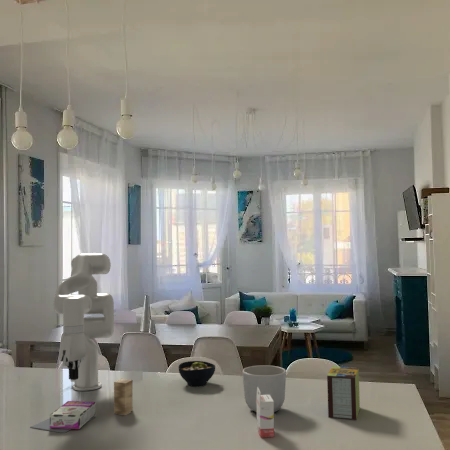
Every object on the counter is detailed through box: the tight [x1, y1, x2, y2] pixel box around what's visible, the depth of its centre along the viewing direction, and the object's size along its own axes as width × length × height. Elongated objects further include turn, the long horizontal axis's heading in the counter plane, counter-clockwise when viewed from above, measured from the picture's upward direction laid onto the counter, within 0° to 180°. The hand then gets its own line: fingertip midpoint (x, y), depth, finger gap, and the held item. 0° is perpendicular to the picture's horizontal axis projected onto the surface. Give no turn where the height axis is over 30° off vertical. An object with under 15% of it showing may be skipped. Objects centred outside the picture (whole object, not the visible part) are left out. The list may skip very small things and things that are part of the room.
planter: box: [242, 364, 287, 413], centre depth 197 cm, size 17×17×15 cm
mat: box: [29, 416, 96, 434], centre depth 185 cm, size 15×17×1 cm
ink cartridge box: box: [256, 387, 275, 438], centre depth 172 cm, size 9×5×15 cm, turn 5°
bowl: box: [177, 360, 216, 388], centre depth 235 cm, size 17×17×10 cm
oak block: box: [113, 378, 133, 416], centre depth 196 cm, size 5×5×12 cm
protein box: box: [326, 365, 361, 421], centre depth 193 cm, size 10×15×16 cm
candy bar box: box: [49, 400, 96, 430], centre depth 185 cm, size 11×5×16 cm
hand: (73, 378), depth 191 cm, fingers closed
